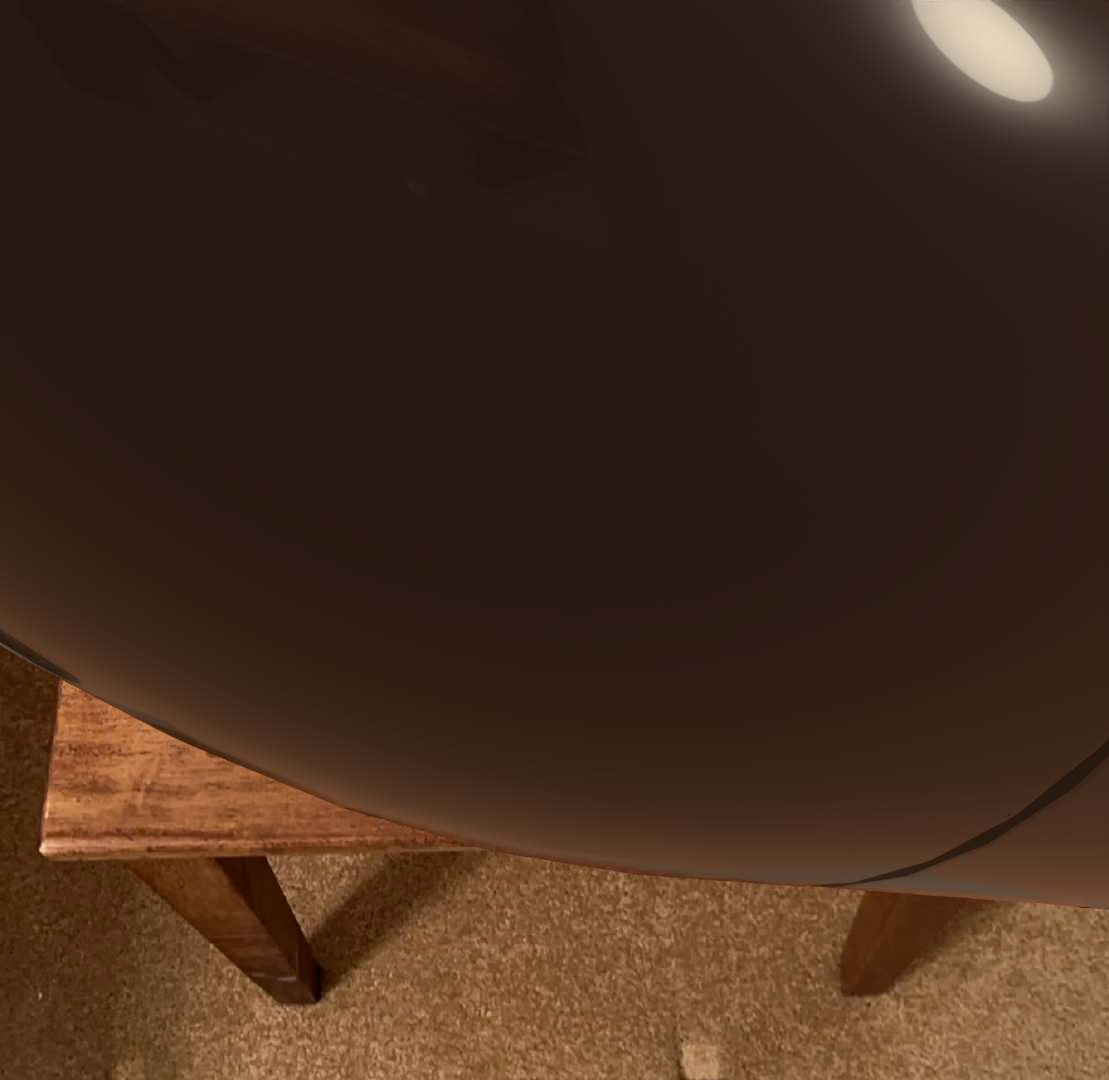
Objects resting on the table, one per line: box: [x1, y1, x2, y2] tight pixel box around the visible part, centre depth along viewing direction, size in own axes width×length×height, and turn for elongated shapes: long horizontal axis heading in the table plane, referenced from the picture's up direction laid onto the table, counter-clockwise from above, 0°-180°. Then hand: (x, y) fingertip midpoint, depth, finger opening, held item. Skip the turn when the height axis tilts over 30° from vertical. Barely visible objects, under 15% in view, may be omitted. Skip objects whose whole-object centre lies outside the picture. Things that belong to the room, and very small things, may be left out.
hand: (439, 388), depth 42 cm, fingers closed on hat, 6 cm apart
